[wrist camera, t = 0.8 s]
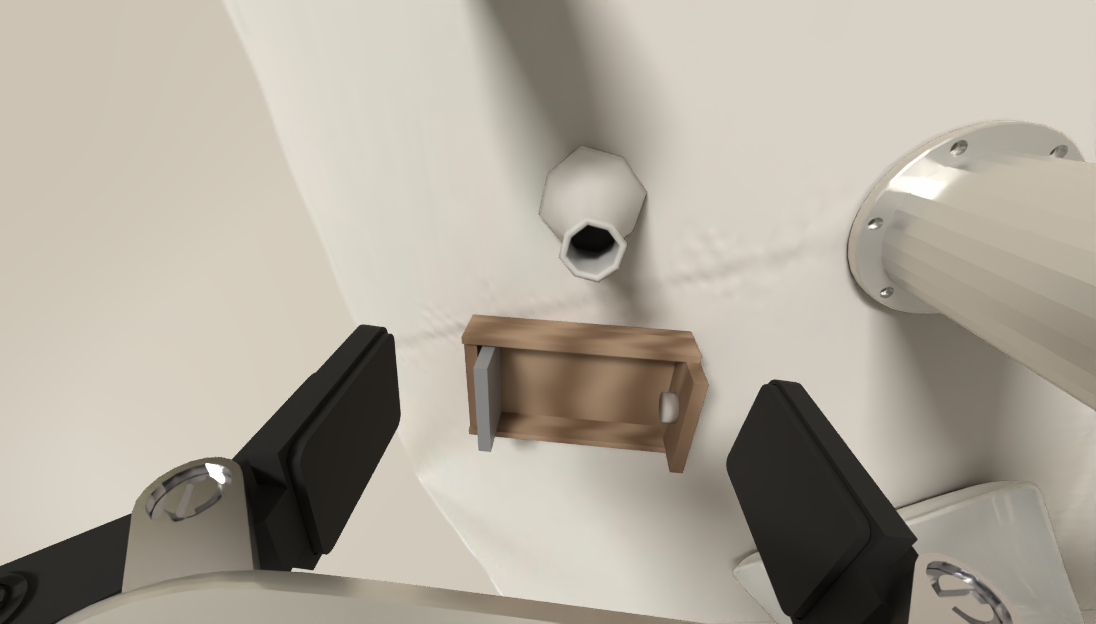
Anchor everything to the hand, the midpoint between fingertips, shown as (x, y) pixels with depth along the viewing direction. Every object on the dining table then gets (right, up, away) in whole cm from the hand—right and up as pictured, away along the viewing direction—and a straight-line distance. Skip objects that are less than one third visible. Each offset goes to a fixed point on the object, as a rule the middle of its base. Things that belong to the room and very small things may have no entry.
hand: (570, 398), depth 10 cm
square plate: (+38, -27, +35) cm, 58 cm away
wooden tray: (+2, -3, +25) cm, 26 cm away
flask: (+2, +10, +18) cm, 21 cm away
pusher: (-5, -3, +25) cm, 25 cm away
